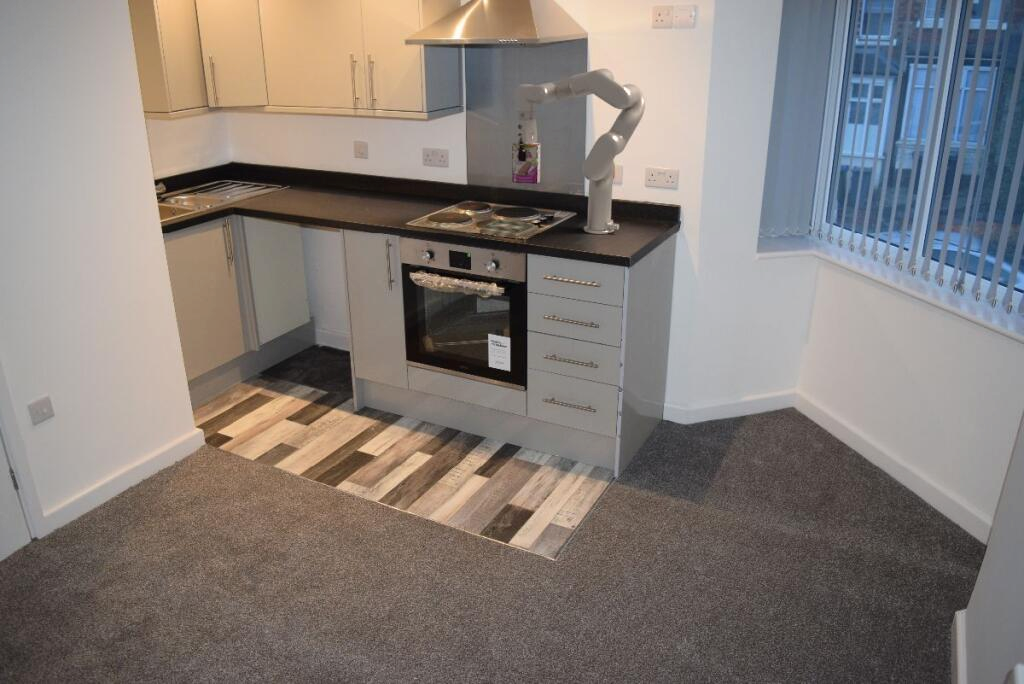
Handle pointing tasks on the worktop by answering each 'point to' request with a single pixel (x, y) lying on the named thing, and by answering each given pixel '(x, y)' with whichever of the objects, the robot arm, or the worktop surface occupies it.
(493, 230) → the foundation plinth
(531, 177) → the candy bar box
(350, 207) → the worktop surface
